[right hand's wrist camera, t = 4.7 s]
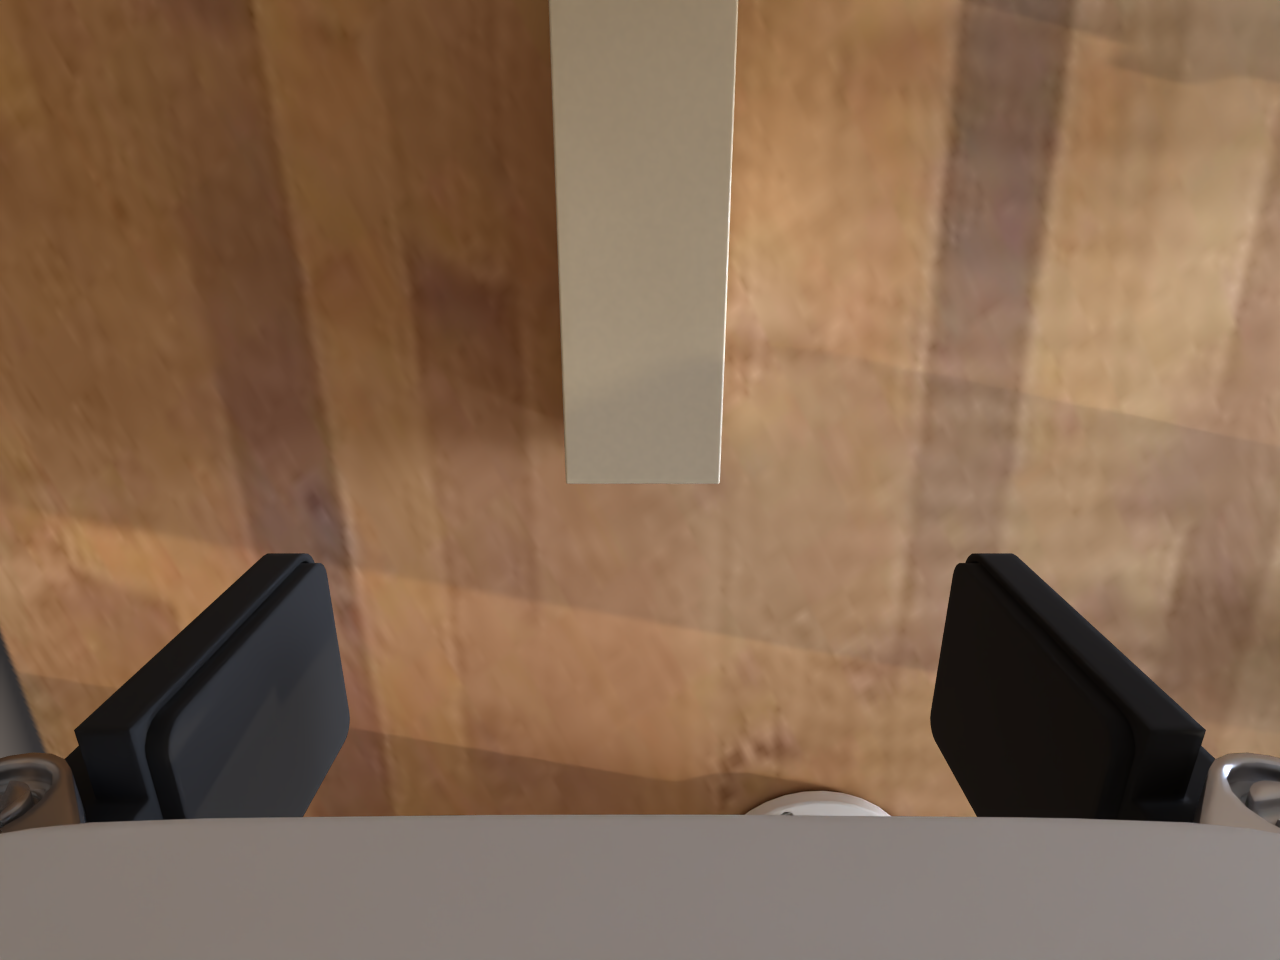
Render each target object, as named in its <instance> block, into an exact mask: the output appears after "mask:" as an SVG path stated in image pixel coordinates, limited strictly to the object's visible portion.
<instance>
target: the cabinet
mask: <svg viewBox="0 0 1280 960" xmlns="http://www.w3.org/2000/svg"><path fill="white" fill-rule="evenodd" d="M737 21H738V0H549V24H550V52H551V80H552V108H553V136H554V164H555V192H556V220H557V247H558V275H559V303H560V331H561V359H562V387H563V415H564V443H565V470H566V483H567V484H719V482H720V460H721V434H722V409H723V383H724V357H725V331H726V305H727V279H728V254H729V228H730V202H731V176H732V150H733V124H734V98H735V73H736V47H737Z"/></svg>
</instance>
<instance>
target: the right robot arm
mask: <svg viewBox="0 0 1280 960" xmlns="http://www.w3.org/2000/svg"><path fill="white" fill-rule="evenodd" d="M349 721H350V716H349V708H348V702H347V696H346V690H345V684H344V677H343V671H342V665H341V659H340V653H339V646H338V640H337V634H336V628H335V622H334V616H333V609H332V603H331V597H330V591H329V585H328V578H327V573H326V569H325V567H324V565H322V564H321V563H314V560H313V559H312V557H311V556H310V555H309V554H266V555H264V556H263V557H262V558H261V559H260V560H258V561H257V562H256V563H255V564H254V565H253V566H252V567H251V568H250V569H249V570H248V571H247V572H245V573H244V574H243V575H242V576H241V577H240V578H239V579H238V580H237V581H236V582H235V583H233V584H232V585H231V586H230V587H229V588H228V589H227V590H226V591H225V592H224V593H223V594H222V595H220V596H219V597H218V598H217V599H216V600H215V601H214V602H213V603H212V604H211V605H210V606H209V607H207V608H206V609H205V610H204V611H203V612H202V613H201V614H200V615H199V616H198V617H197V618H195V619H194V620H193V621H192V622H191V623H190V624H189V625H188V626H187V627H186V628H185V629H184V630H182V631H181V632H180V633H179V634H178V635H177V636H176V637H175V638H174V639H173V640H172V641H170V642H169V643H168V644H167V645H166V646H165V647H164V648H163V649H162V650H161V651H160V652H159V653H157V654H156V655H155V656H154V657H153V658H152V659H151V660H150V661H149V662H148V663H147V664H145V665H144V666H143V667H142V668H141V669H140V670H139V671H138V672H137V673H136V674H135V675H134V676H132V677H131V678H130V679H129V680H128V681H127V682H126V683H125V684H124V685H123V686H122V687H121V688H119V689H118V690H117V691H116V692H115V693H114V694H113V695H112V696H111V697H110V698H109V699H107V700H106V701H105V702H104V703H103V704H102V705H101V706H100V707H99V708H98V709H97V710H96V711H94V712H93V713H92V714H91V715H90V716H89V717H88V718H87V719H86V720H85V721H84V722H82V723H81V724H80V725H79V726H78V727H77V728H76V729H75V730H74V731H75V734H76V738H77V741H78V744H79V746H78V747H77V748H76V749H75V750H74V751H73V752H72V753H71V754H70V755H69V756H68V757H67V758H66V759H63V758H61V757H58V756H56V755H53V754H46V753H27V754H20V755H12V756H7V757H4V758H0V960H1280V758H1276V757H1273V756H1268V755H1261V754H1253V753H1234V754H1227V755H1224V756H1222V757H1219V758H1217V759H1214V758H1213V757H1212V756H1211V755H1210V754H1209V753H1208V752H1207V751H1206V750H1205V749H1204V748H1203V747H1202V746H1201V744H1202V741H1203V738H1204V734H1205V731H1206V730H1205V729H1204V728H1203V727H1202V726H1201V725H1200V724H1199V723H1198V722H1196V721H1195V720H1194V719H1193V718H1192V717H1191V716H1190V715H1189V714H1188V713H1187V712H1186V711H1184V710H1183V709H1182V708H1181V707H1180V706H1179V705H1178V704H1177V703H1176V702H1175V701H1174V700H1173V699H1171V698H1170V697H1169V696H1168V695H1167V694H1166V693H1165V692H1164V691H1163V690H1162V689H1161V688H1159V687H1158V686H1157V685H1156V684H1155V683H1154V682H1153V681H1152V680H1151V679H1150V678H1149V677H1148V676H1146V675H1145V674H1144V673H1143V672H1142V671H1141V670H1140V669H1139V668H1138V667H1137V666H1136V665H1134V664H1133V663H1132V662H1131V661H1130V660H1129V659H1128V658H1127V657H1126V656H1125V655H1124V654H1123V653H1121V652H1120V651H1119V650H1118V649H1117V648H1116V647H1115V646H1114V645H1113V644H1112V643H1111V642H1110V641H1108V640H1107V639H1106V638H1105V637H1104V636H1103V635H1102V634H1101V633H1100V632H1099V631H1098V630H1096V629H1095V628H1094V627H1093V626H1092V625H1091V624H1090V623H1089V622H1088V621H1087V620H1086V619H1085V618H1083V617H1082V616H1081V615H1080V614H1079V613H1078V612H1077V611H1076V610H1075V609H1074V608H1073V607H1071V606H1070V605H1069V604H1068V603H1067V602H1066V601H1065V600H1064V599H1063V598H1062V597H1061V596H1060V595H1058V594H1057V593H1056V592H1055V591H1054V590H1053V589H1052V588H1051V587H1050V586H1049V585H1048V584H1047V583H1045V582H1044V581H1043V580H1042V579H1041V578H1040V577H1039V576H1038V575H1037V574H1036V573H1035V572H1033V571H1032V570H1031V569H1030V568H1029V567H1028V566H1027V565H1026V564H1025V563H1024V562H1023V561H1022V560H1020V559H1019V558H1018V557H1017V556H1016V555H1014V554H971V555H970V556H969V557H968V559H967V560H966V563H959V564H958V565H956V567H955V569H954V573H953V578H952V585H951V591H950V597H949V603H948V609H947V616H946V622H945V628H944V634H943V640H942V646H941V653H940V659H939V665H938V671H937V677H936V684H935V690H934V696H933V702H932V708H931V716H930V721H931V730H932V734H933V737H934V739H935V742H936V744H937V745H938V747H939V749H940V751H941V753H942V754H943V756H944V758H945V760H946V762H947V763H948V765H949V767H950V769H951V771H952V772H953V774H954V776H955V778H956V780H957V781H958V783H959V785H960V787H961V789H962V790H963V792H964V794H965V796H966V798H967V799H968V801H969V803H970V805H971V807H972V808H973V810H974V812H975V814H976V816H977V817H919V816H890V815H889V814H887V813H886V812H885V811H883V810H882V809H881V808H879V807H878V806H877V805H874V804H872V803H870V802H868V801H866V800H864V799H862V798H859V797H856V796H852V795H848V794H845V793H839V792H830V791H807V792H799V793H794V794H789V795H784V796H781V797H779V798H776V799H773V800H770V801H767V802H765V803H763V804H761V805H760V806H758V807H756V808H754V809H752V810H750V811H749V812H748V813H746V814H745V815H449V816H362V817H303V816H304V814H305V812H306V810H307V808H308V807H309V805H310V803H311V801H312V799H313V798H314V796H315V794H316V792H317V790H318V789H319V787H320V785H321V783H322V781H323V780H324V778H325V776H326V774H327V772H328V771H329V769H330V767H331V765H332V763H333V762H334V760H335V758H336V756H337V754H338V753H339V751H340V749H341V747H342V745H343V744H344V742H345V739H346V737H347V734H348V730H349Z"/></svg>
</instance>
